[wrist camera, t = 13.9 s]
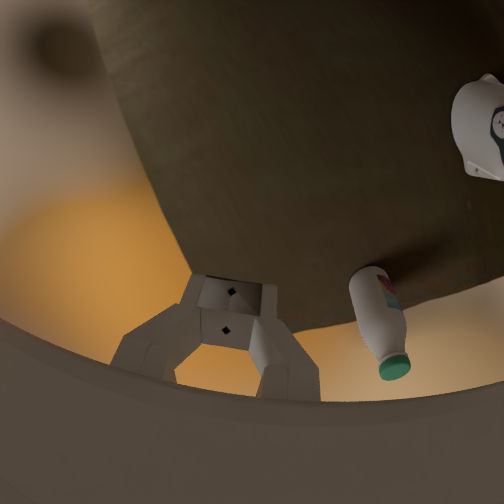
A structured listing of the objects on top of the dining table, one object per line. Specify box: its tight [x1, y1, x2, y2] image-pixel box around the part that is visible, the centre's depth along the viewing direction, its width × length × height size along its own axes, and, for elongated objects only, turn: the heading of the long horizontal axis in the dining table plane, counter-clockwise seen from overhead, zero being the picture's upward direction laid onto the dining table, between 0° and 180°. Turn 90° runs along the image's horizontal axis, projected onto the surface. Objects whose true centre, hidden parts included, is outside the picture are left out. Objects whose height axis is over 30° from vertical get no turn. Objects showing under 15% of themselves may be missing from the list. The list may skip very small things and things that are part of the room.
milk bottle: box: [349, 266, 411, 381], centre depth 40 cm, size 8×8×20 cm
